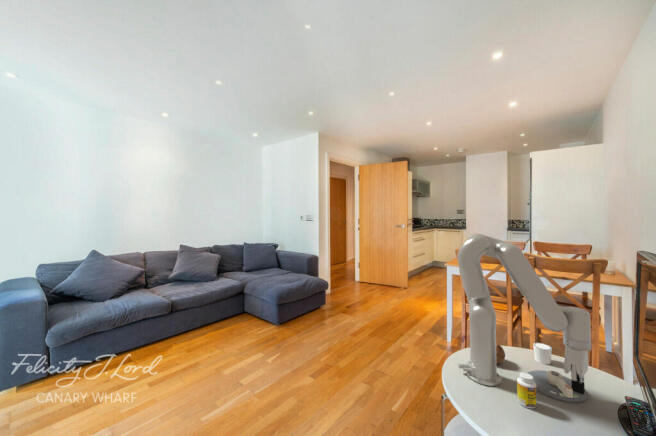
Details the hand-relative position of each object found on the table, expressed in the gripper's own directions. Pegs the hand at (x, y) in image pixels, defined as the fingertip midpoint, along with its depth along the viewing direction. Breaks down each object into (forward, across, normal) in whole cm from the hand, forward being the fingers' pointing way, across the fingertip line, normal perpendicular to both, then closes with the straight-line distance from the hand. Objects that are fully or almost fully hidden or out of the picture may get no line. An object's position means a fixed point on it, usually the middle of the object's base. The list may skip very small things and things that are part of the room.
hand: (578, 391), depth 97 cm
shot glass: (+3, -20, -16) cm, 26 cm away
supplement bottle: (+3, +18, -10) cm, 21 cm away
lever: (+1, +1, -5) cm, 5 cm away
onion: (+3, -2, -30) cm, 30 cm away
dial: (+3, -2, -7) cm, 8 cm away
